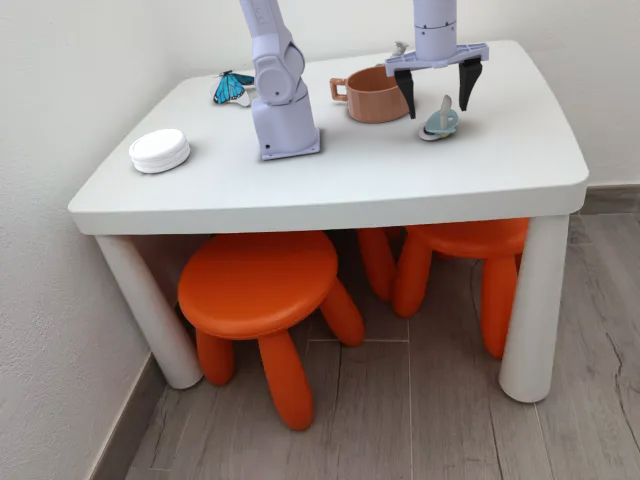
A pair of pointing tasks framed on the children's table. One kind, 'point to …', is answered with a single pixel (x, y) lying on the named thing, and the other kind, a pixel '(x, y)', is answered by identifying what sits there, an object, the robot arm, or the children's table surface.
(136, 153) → the white round disc
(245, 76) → the decorative butterfly
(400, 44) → the soldier figure
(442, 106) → the pacifier
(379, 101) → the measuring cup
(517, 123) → the children's table surface
